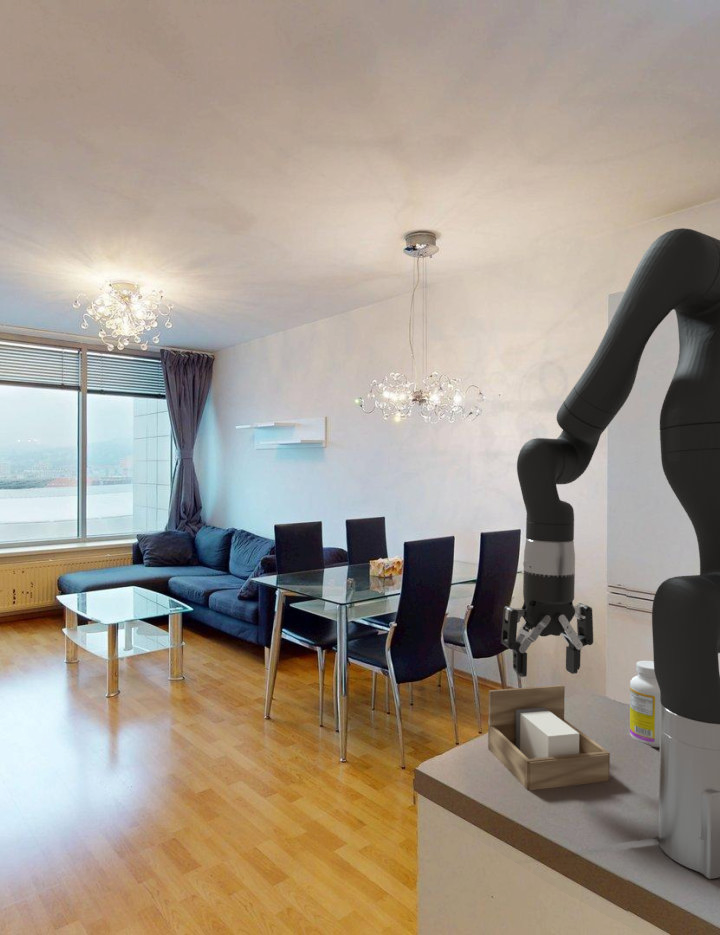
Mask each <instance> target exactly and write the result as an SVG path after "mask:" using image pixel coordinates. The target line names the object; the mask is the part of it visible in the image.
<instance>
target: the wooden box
mask: <svg viewBox="0 0 720 935" xmlns="http://www.w3.org/2000/svg"><path fill="white" fill-rule="evenodd" d="M565 688H566V687H565V685H564V684H557V685H556V684H555V685H544V686H543V685H541V686H528V687H527V686H526V687H515V688H513V687H512V688H502V689H501V688H500V689H489V690H488V722H487V723H488V730H487V731H488V734H487V735H488V737H487V738H488V740H487V743H488V744H487V749H488V751H490V752H491V753H492V755H494V757H495V758H496V759H497V760H498V761H499V762H500V763H501V765H503V766H504V767H505V768H506V770H508V772H509V773H510V774H512V776H513V777H514V778H515V779H516V780H517V781H518V782H519V783H520V784H521V785H522V786H523V787H524V788H525V789H526V790H529V791H534V790H543V789H552V788H553V789H554V788H559V787H560V788H562V787H570V786H576V785H577V786H578V785H585V784H587V785H588V784H595V783H604V782H609V781H610V770H611V769H610V765H611V764H610V763H611V762H610V758H611V755H610V754H611V753H610V752H609V751H608V750H606V749H605V748H604V747H603V746H601V745H600V744H598V743H597V742H596V741H594V740H593V739H592V738H590V737H589V736H587V735H586V734H585V733H583V731H581V730H579V728H577V727H576V726H574V725H573V724H571V723H570V722H568V721H567V720H566V719H565V695H566V694H565ZM542 707H545V708H546V709H547V710H549V711H550V712H551V713H553V714H554V715H555V716H557V717H558V718H559V719H561V720H562V721H563V722H565V723H566V724H567V725H569V726H570V727H571V728H573V729H574V730H575V731H577V732H578V733H579V754H573V755H563V756H554V757H544V758H534V759H528V758H527V757H526V756H525V755H524V754H523V753H522V752H521V751H520V750H519V749H518V748H517V747H516V710H518V709H530V708H542Z"/></svg>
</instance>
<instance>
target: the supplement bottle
mask: <svg viewBox="0 0 720 935" xmlns="http://www.w3.org/2000/svg"><path fill="white" fill-rule="evenodd" d="M635 666H636V667H635V670H636V672H637V675H635V676H633V677H632V678H631V679H630V681H629V734H630V737H632V738H633V739H634V740H636V741H638V742H641V743H643V744H645V745H648V746H649V747H651V748H660V689H659V685H658V682H657V679H656V676H655V671H654V660H653V661H652V660H640V661H639V660H638V661H637V662H636V665H635Z"/></svg>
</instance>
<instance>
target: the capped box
mask: <svg viewBox="0 0 720 935" xmlns="http://www.w3.org/2000/svg"><path fill="white" fill-rule="evenodd" d="M516 747H517V748H518V749H519V750H520V751H521V752H522V753H523V754H524V755H525V756H526V757H527V758H528V759H534V758H544V757H554V756H563V755H573V754H579V733H578V732H577V731H575V730H574V729H573V728H571V727H570V726H569V725H567V724H566V723H565V722H563V721H562V720H561V719H559V718H558V717H557V716H555V715H554V714H553V713H551V712H550V711H549V710H547V709H546V708H545V707H542V708H530V709H518V710H516Z"/></svg>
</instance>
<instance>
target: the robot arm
mask: <svg viewBox="0 0 720 935" xmlns="http://www.w3.org/2000/svg"><path fill="white" fill-rule="evenodd" d="M672 310H675V315H676V320H677V330H678V331H677V332H678V341H679V342H678V343H679V344H678V345H679V349H678V350H679V352H678V361H677V365H676V369H675V372H674V374H673V376H672V379H671V382H670V385H669V387H668V388H667V391H666V394H665V397H664V398H663V403H662V406H661V409H660V415H659V438H660V439H659V441H660V460H661V466H662V469H663V470H662V471H663V473H664V476H665V478H666V480H667V482H668V485H669V486H670V488H671V490H672V492H673V493H674V495H675V496H676V498H677V500H678V501H679V503H680V505H681V507H682V508H683V509H684V511H685V513H686V514H687V516H688V519H689V520H690V522H691V524H692V526H693V529H694V532H695V536H696V540H697V545H698V546H697V547H698V556H699V574H696V575H693V574H692V575H680V576H679V575H678V576H674V577H669V578H666V580H664V581H663V582H661V584H659V586H658V588H657V589H656V591H655V593H654V597H653V601H652V606H651V607H652V609H651V626H652V628H651V631H652V648H653V650H652V651H653V652H652V653H653V661H654V671H655V676H656V679H657V682H658V685H659V689H660V747H659V765H658V766H659V768H658V769H659V770H658V771H659V772H658V773H659V774H658V776H659V777H658V845H659V847H660V848H661V849H662V851H663V852H664V853H665V854H666V855H667V856H668V857H669V858H670V859H672V860H673V861H675V862H676V863H678V864H680V865H682V866H684V867H686V868H688V869H689V870H693V871H696V872H698V873H700V874H702V875H703V876H705V878H707V879H709V880H711V879H716V878H717V879H719V878H720V663H719V654H720V239H718V238H716V237H713V236H710V235H708V234H705V233H703V232H700V231H698V230H695V229H691V228H685V227H684V228H683V227H682V228H673V229H672V230H669V231H667V232H665V233H663V234H662V235H660V236H659V237H658V238H656V239H655V240H654V241H653V242H652V243H651V244H650V246H648V248H647V249H646V251H645V253H644V254H643V255H642V257H641V259H640V261H639V263H638V265H637V267H636V268H635V271H634V273H633V274H632V276H631V278H630V280H629V283H628V286H627V287H626V290H625V292H624V293H623V296H622V297H621V300H620V303H619V304H618V306H617V309H616V310H615V312H614V315H613V316H612V318H611V321H610V323H609V325H608V327H607V329H606V331H605V334H604V335H603V337H602V340H601V341H600V343H599V346H598V348H597V350H596V351H595V352H594V354H593V357H592V358H591V360H590V362H589V363H588V365H587V367H586V368H585V370H584V372H583V373H582V374H581V376H580V378H579V379H578V380H577V382H576V383H575V384H574V386H573V388H572V389H571V390H570V392H569V393H568V395H567V396H566V398H565V399H564V401H563V403H561V405H560V407H559V409H558V411H557V414H556V422H557V424H558V426H559V427H560V429H561V433H560V435H559V436H558V437H557V438H543V437H542V438H541V437H536V438H532V439H530V440H528V441H526V442H525V443H524V444H523V445H522V447H521V449H520V451H519V453H518V455H517V461H516V473H517V477H518V478H517V479H518V482H519V486H520V491H521V496H522V500H523V503H524V507H525V511H526V523H525V524H526V525H525V528H526V529H525V533H526V534H525V543H524V550H523V562H522V563H523V564H522V565H523V582H522V583H523V584H522V585H523V586H522V588H523V589H522V597H523V603H522V604H523V605H522V607H520V608H515V607H510V606H509V605H506V606H504V607H503V611H502V612H503V613H502V624H501V625H502V626H501V635H500V636H501V637H500V638H501V639H500V640H501V641H500V643H501V644H502V645H503V646H505V647H506V648H508V649H509V650H512V668H513V671H514V672H515V674H516V675H517V676H519V677H521V678H525V677H526V678H527V675H528V673H527V672H528V671H527V670H528V652H527V650H528V648H529V647H530V646H531V644H532V643H534V642H536V641H537V639H538V638H539V637H548V636H555V637H557V636H562V637H563V639H564V640H565V642H566V643H567V645H568V646H566V647H565V649H566V650H565V669H566V671H567V672H569V673H570V674H572V675H573V674H578V671H579V670H580V668H581V653H582V652H581V651H582V649H583V647H585V646H591V645H593V643H594V620H593V619H594V618H593V617H594V616H593V608H592V607H591V606H589V605H587V604H585V603H579V602H578V603H577V605H574V603H573V602H574V600H575V581H576V580H575V576H576V552H575V544H574V543H575V541H574V539H575V513H574V512H575V511H574V508H573V506H572V504H571V503H569V502H567V501H564V500H561V499H560V497H559V493H558V492H559V491H558V488H557V485H567V484H572V483H573V482H575V481H576V480H578V479H579V478H580V477H581V476H582V475H583V474H584V473H585V472H586V470H587V469H588V467H589V465H590V463H591V461H592V459H593V456H594V453H595V451H596V449H597V446H598V444H599V441H600V438H601V436H602V434H603V432H604V431H605V430H606V429H607V427H608V426H609V425H610V423H611V422H612V421H614V420H613V419H614V418H615V417H616V415H617V414H618V413H619V412H620V411H621V409H622V408H623V406H624V404H625V403H626V401H627V399H628V398H629V396H630V394H631V392H632V390H633V387H634V384H635V381H636V378H637V375H638V371H639V366H640V362H641V358H642V355H643V353H644V350H645V348H646V346H647V344H648V342H649V340H650V338H651V337H652V335H653V333H654V332H655V331H656V329H657V328H658V326H660V324H661V323H662V322H663V321H664V319H665V318H666V317H667V316H668V315H669V314H670V313H671V312H672ZM574 617H575V619H576V628H577V629H576V631H577V632H576V631H575V629H574V627H573V626H572V625H571V621H572V619H573V618H574ZM521 618H523V620H524V622H523V624H522V625H521V627H519V629H518V623H520V622H521ZM517 630H518V632H517Z"/></svg>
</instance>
